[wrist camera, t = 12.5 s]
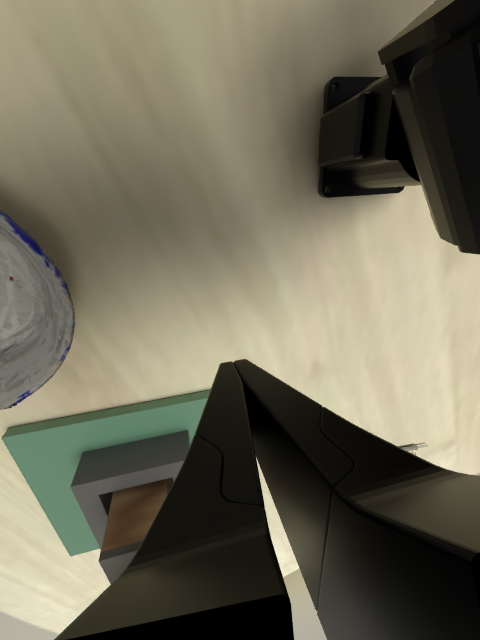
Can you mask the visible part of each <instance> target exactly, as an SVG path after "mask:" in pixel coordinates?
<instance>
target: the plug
mask: <svg viewBox="0 0 480 640" xmlns="http://www.w3.org/2000/svg"><path fill="white" fill-rule="evenodd" d="M173 483H174V482H173V478H167V479H163V480H159V481H155V482H151V483H147V484H142V485H138V486H134V487H130V488H126V489H121V490H117V491H113V496H112V501H111V505H110V510H109V515H108V520H107V524H106V529H105V534H104V539H103V543H102V548H101V553H100V558H99V563H100V565H101V567H102V568H103V570H104V572H105V574H106V576H107V578H108V580H109V582H110V584H112V583H113V582H114V581H115V580H116V579H117V578H118V577H119V576H120V574H121V573H122V572H123V571H124V570H125V568H126V567H127V565H128V564H129V563H130V561H131V560H132V558H133V557H134V555H135V554H136V552H137V550H138V549H139V547H140V545H141V543H142V541H143V540H144V538H145V536H146V534H147V532H148V530H149V528H150V526H151V525H152V523H153V521H154V519H155V517H156V515H157V513H158V511H159V509H160V507H161V506H162V504H163V502H164V500H165V498H166V496H167V494H168V492H169V490H170V489H171V487H172V485H173Z"/></svg>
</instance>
